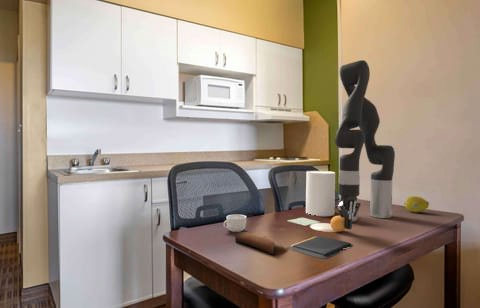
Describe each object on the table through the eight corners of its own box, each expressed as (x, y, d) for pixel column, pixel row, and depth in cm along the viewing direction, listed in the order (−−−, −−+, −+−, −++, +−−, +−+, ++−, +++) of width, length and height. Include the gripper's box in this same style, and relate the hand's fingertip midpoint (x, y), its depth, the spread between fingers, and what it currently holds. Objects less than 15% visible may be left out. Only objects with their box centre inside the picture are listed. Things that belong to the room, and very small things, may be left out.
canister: (312, 209, 168) (313, 170, 167) (338, 212, 160) (339, 172, 159) (301, 213, 157) (301, 172, 156) (328, 217, 149) (329, 174, 148)
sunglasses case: (291, 250, 103) (285, 234, 101) (279, 266, 99) (271, 249, 97) (252, 237, 117) (245, 223, 114) (239, 251, 113) (232, 236, 110)
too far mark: (302, 217, 148) (302, 217, 148) (320, 222, 140) (320, 221, 140) (287, 221, 142) (287, 220, 142) (304, 225, 134) (304, 225, 134)
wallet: (324, 256, 95) (283, 244, 106) (324, 262, 95) (282, 249, 106) (357, 242, 109) (317, 232, 120) (356, 248, 109) (317, 237, 120)
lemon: (401, 211, 164) (402, 195, 164) (407, 209, 169) (407, 194, 169) (425, 215, 156) (425, 198, 156) (430, 213, 161) (431, 197, 161)
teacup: (237, 226, 131) (238, 213, 131) (250, 231, 125) (250, 217, 125) (217, 231, 125) (217, 217, 125) (229, 235, 119) (230, 220, 119)
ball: (348, 231, 127) (335, 224, 131) (351, 217, 125) (337, 211, 129) (339, 236, 123) (326, 229, 127) (342, 222, 121) (328, 215, 125)
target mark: (323, 222, 140) (323, 221, 140) (350, 228, 130) (350, 228, 130) (303, 226, 132) (303, 226, 132) (330, 234, 122) (330, 233, 122)
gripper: (350, 181, 130) (349, 224, 130) (329, 182, 122) (329, 229, 122) (367, 182, 124) (366, 228, 124) (347, 184, 116) (346, 233, 116)
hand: (348, 228), depth 123 cm, fingers closed
